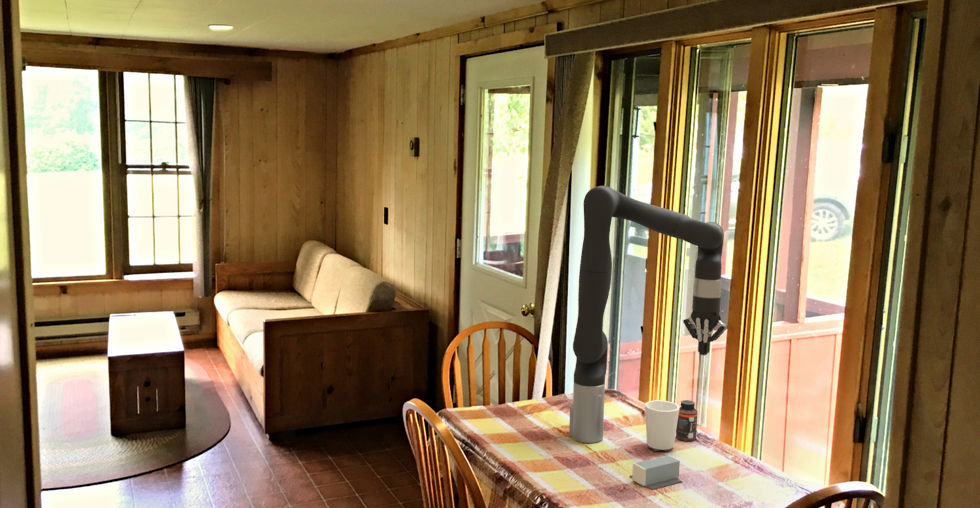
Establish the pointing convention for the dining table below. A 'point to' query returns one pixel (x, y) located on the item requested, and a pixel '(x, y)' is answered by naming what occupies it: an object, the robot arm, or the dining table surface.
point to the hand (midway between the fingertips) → (703, 354)
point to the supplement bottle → (687, 421)
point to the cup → (661, 424)
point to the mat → (662, 483)
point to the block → (655, 470)
